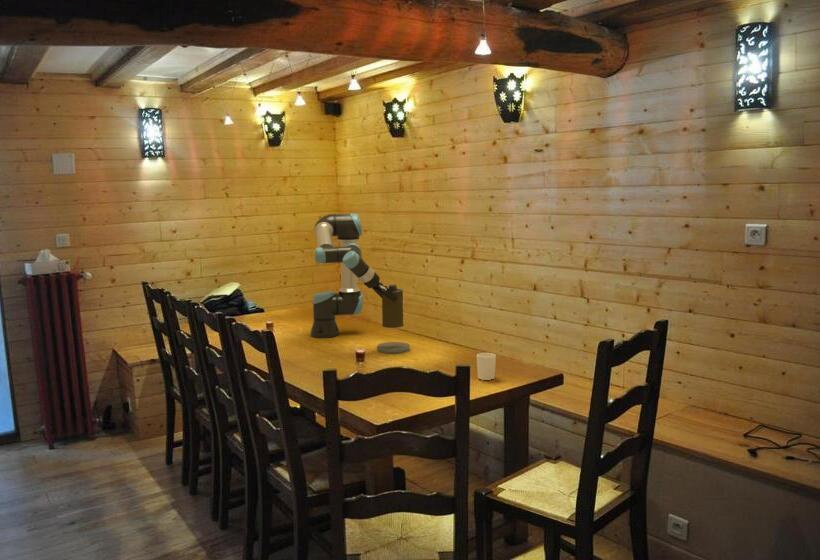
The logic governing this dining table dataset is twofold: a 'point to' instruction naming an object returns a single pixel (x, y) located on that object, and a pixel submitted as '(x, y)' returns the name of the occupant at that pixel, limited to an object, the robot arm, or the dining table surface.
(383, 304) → the canister
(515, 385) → the dining table surface
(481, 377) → the white cup
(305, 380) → the dining table surface
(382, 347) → the disc
